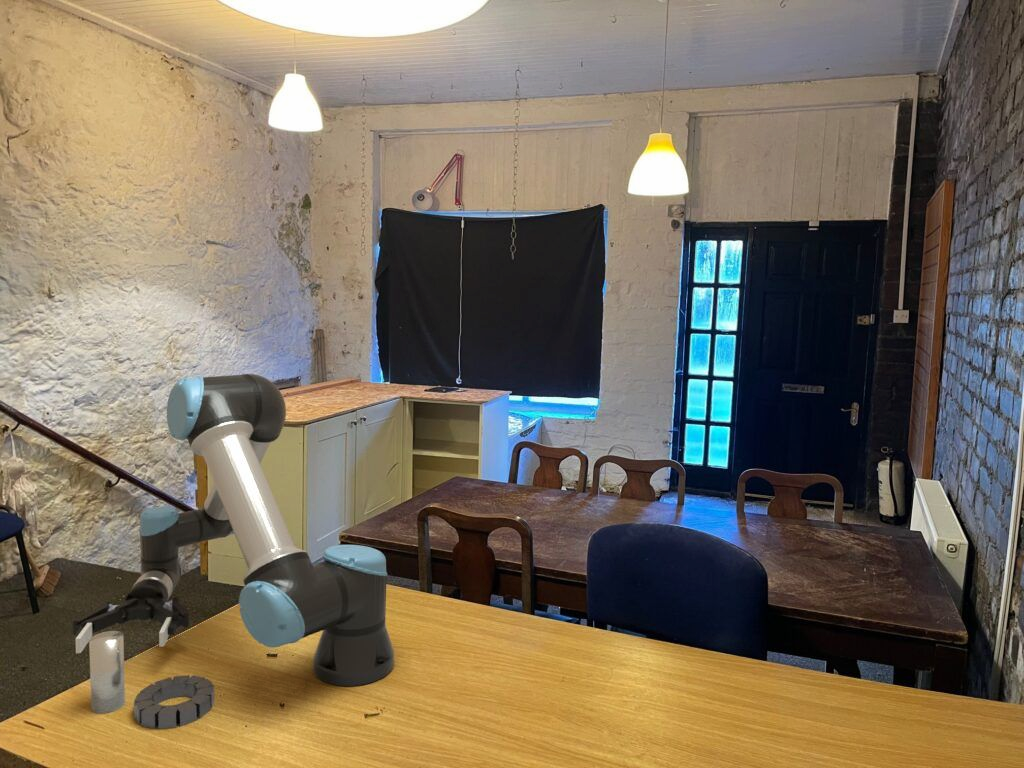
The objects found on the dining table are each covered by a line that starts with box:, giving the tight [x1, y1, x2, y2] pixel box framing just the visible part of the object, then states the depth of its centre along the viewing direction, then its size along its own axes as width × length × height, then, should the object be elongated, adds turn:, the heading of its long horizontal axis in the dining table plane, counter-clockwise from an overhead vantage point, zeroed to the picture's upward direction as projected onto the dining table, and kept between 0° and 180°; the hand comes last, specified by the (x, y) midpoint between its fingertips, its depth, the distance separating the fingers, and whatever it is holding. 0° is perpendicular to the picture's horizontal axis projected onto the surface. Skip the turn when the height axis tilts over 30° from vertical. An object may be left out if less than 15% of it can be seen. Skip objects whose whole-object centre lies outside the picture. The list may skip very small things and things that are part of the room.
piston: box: [88, 630, 126, 714], centre depth 120 cm, size 5×5×12 cm
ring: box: [133, 674, 215, 730], centre depth 120 cm, size 12×12×2 cm
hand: (120, 642), depth 128 cm, fingers open, 13 cm apart
